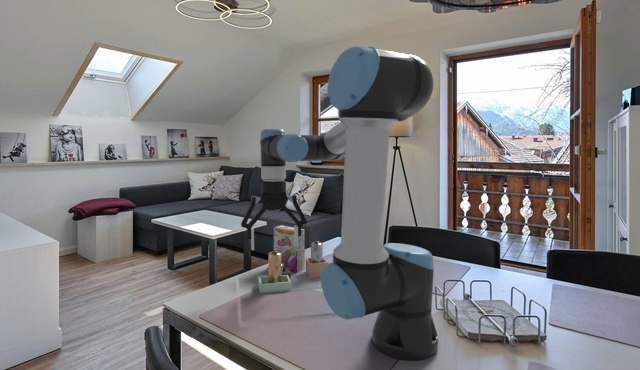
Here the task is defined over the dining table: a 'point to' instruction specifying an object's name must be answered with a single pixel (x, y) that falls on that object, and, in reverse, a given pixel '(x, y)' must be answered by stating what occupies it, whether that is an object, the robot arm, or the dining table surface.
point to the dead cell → (316, 252)
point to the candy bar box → (290, 248)
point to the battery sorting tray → (294, 279)
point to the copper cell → (274, 267)
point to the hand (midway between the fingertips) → (274, 247)
